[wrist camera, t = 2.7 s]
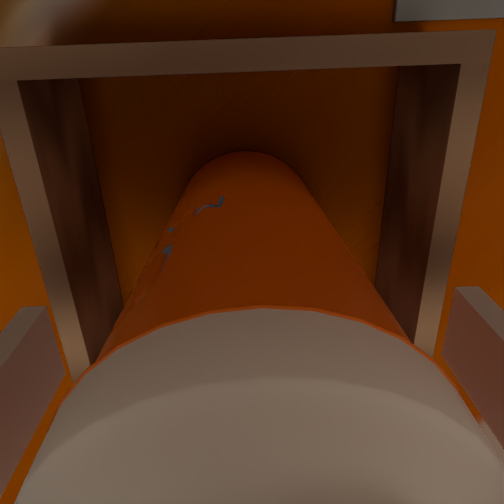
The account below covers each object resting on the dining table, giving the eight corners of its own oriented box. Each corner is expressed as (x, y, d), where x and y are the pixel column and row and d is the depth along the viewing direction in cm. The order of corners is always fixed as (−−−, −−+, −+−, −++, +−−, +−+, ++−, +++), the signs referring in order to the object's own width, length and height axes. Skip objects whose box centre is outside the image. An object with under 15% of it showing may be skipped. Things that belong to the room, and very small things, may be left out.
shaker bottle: (350, 153, 22) (891, 670, 4) (301, 298, 26) (459, 903, 8) (176, 112, 21) (-229, 582, 3) (152, 270, 24) (-81, 908, 6)
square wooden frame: (49, 46, 19) (-24, 48, 14) (424, 33, 19) (496, 29, 14) (115, 348, 27) (85, 424, 21) (385, 334, 27) (422, 407, 22)
